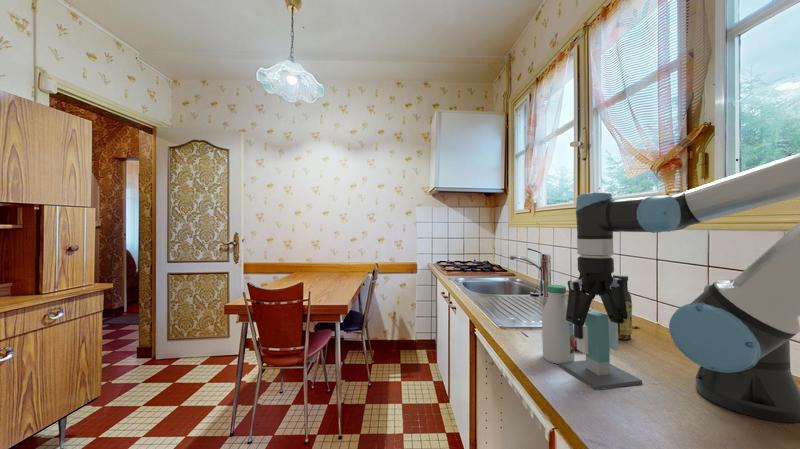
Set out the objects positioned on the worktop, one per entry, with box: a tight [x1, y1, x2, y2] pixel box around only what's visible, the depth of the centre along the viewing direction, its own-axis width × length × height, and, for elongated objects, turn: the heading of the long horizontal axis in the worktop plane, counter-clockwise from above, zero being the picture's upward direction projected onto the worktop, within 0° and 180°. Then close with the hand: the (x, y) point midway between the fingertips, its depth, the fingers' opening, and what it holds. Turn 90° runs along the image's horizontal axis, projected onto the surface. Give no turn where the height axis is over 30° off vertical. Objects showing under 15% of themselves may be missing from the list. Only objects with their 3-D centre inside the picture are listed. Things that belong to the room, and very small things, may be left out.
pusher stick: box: [585, 310, 611, 376], centre depth 77 cm, size 4×3×14 cm
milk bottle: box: [541, 284, 576, 365], centre depth 86 cm, size 8×8×20 cm
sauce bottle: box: [608, 273, 633, 340], centre depth 101 cm, size 7×6×20 cm
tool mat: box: [559, 359, 643, 390], centre depth 76 cm, size 12×12×1 cm
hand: (597, 349), depth 76 cm, fingers open, 8 cm apart
